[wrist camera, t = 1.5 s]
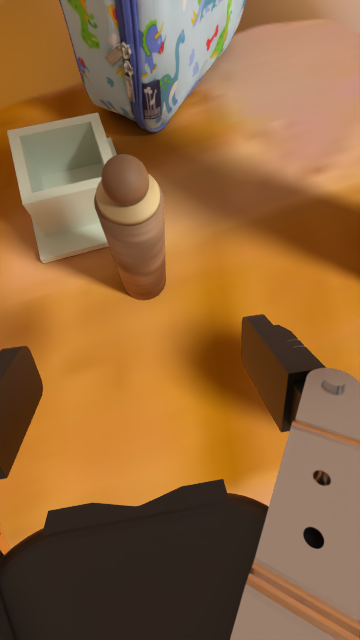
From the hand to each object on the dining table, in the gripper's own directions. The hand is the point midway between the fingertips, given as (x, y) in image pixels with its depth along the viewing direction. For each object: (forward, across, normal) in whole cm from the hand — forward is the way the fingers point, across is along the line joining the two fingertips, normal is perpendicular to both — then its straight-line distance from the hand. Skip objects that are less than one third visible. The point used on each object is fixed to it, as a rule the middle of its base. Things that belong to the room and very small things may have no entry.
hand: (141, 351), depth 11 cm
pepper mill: (+20, 0, +4) cm, 20 cm away
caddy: (+27, +6, -4) cm, 28 cm away
